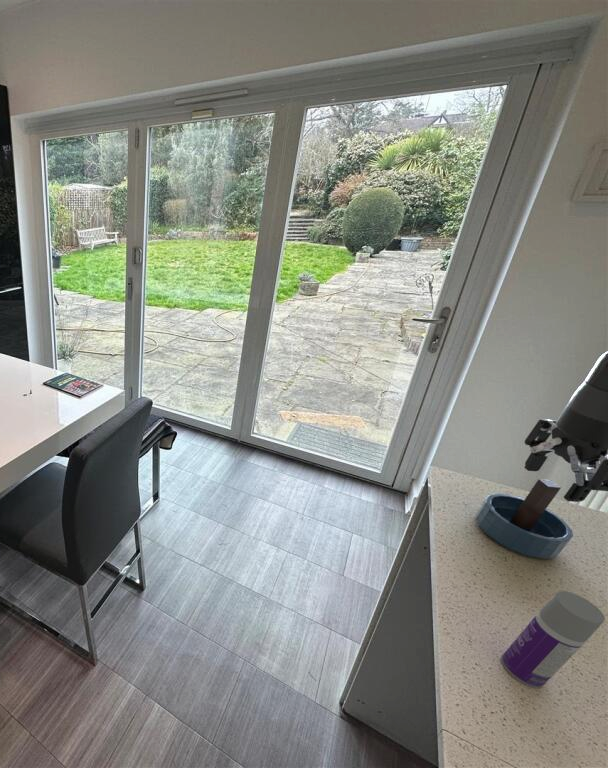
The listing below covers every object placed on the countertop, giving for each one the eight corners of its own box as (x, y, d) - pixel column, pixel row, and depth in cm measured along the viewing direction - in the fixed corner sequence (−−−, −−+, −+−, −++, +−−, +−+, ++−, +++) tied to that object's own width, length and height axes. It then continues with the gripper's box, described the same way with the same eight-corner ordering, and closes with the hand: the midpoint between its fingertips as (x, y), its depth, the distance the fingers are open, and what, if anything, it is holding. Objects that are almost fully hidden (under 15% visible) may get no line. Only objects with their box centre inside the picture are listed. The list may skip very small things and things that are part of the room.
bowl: (521, 515, 88) (534, 496, 86) (575, 564, 77) (592, 544, 75) (459, 510, 89) (471, 490, 87) (505, 557, 78) (519, 537, 76)
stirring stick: (516, 529, 84) (550, 480, 78) (525, 537, 82) (561, 487, 76) (505, 528, 84) (538, 479, 78) (513, 536, 82) (548, 486, 76)
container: (492, 651, 63) (544, 587, 56) (526, 656, 62) (583, 592, 55) (516, 685, 58) (575, 621, 51) (552, 691, 58) (617, 626, 51)
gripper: (672, 436, 63) (609, 513, 71) (583, 392, 76) (538, 462, 83) (618, 432, 64) (562, 510, 71) (540, 390, 76) (499, 459, 84)
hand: (549, 484), depth 77 cm, fingers open, 8 cm apart
